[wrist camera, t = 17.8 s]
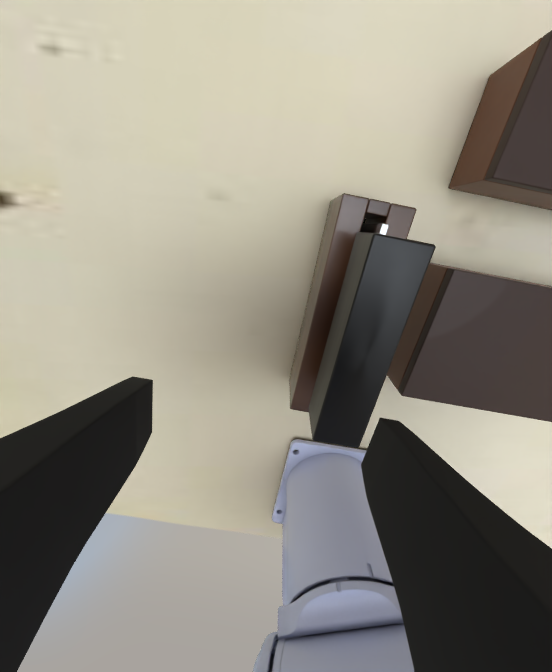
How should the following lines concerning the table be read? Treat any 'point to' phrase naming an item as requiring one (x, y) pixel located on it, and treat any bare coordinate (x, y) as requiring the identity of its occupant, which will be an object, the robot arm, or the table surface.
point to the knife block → (335, 281)
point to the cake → (478, 343)
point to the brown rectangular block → (513, 133)
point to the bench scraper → (365, 332)
